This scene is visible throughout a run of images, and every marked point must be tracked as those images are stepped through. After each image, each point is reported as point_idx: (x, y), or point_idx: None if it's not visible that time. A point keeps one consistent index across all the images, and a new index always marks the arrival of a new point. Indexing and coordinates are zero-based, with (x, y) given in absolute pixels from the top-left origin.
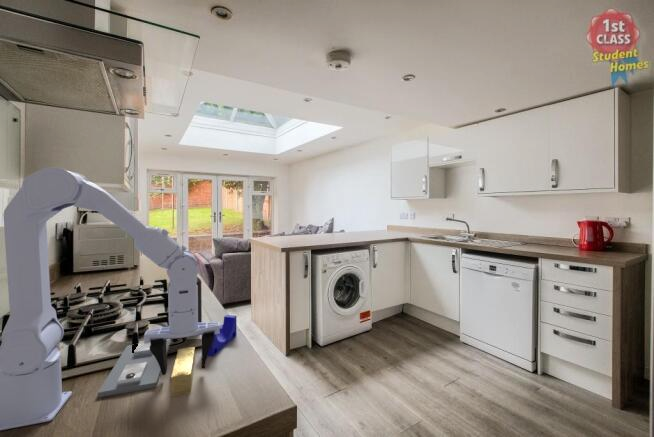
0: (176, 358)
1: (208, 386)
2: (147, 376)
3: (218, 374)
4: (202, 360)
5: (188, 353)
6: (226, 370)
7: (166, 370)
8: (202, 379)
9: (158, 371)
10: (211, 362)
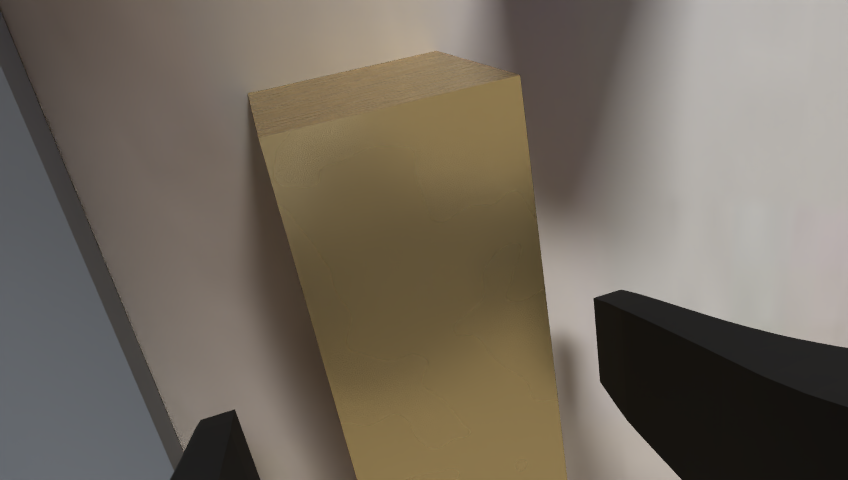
0: (347, 422)
1: (625, 454)
2: (25, 456)
3: (689, 306)
4: (671, 460)
5: (473, 293)
6: (750, 248)
7: (245, 446)
8: (572, 375)
9: (105, 361)
10: (620, 86)
